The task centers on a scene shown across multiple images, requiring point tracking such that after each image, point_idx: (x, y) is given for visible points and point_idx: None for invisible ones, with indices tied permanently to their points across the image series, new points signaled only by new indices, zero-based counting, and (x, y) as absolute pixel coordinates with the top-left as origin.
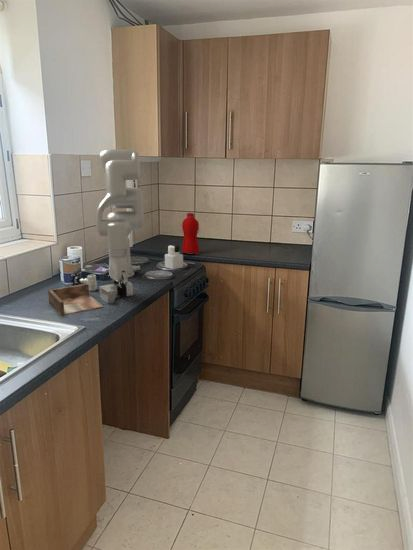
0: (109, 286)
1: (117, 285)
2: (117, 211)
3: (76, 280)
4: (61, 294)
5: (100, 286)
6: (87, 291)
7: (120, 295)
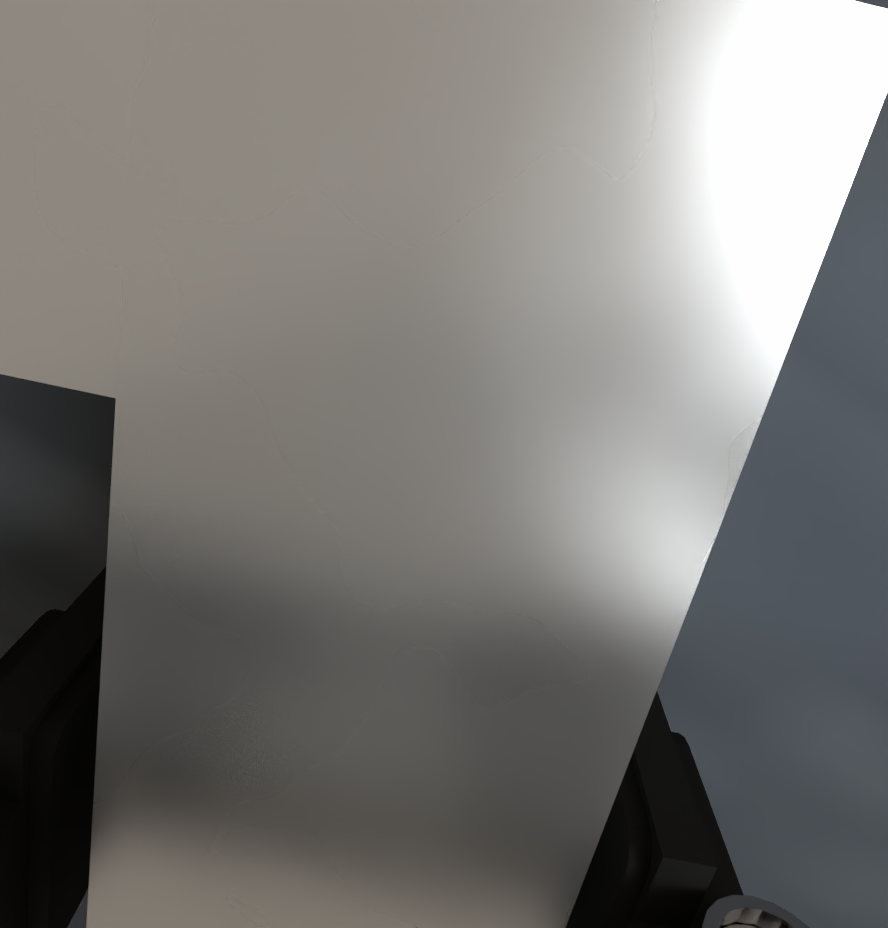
0: (319, 491)
1: (215, 845)
2: None
3: None
4: None
5: (778, 35)
6: None
7: None
